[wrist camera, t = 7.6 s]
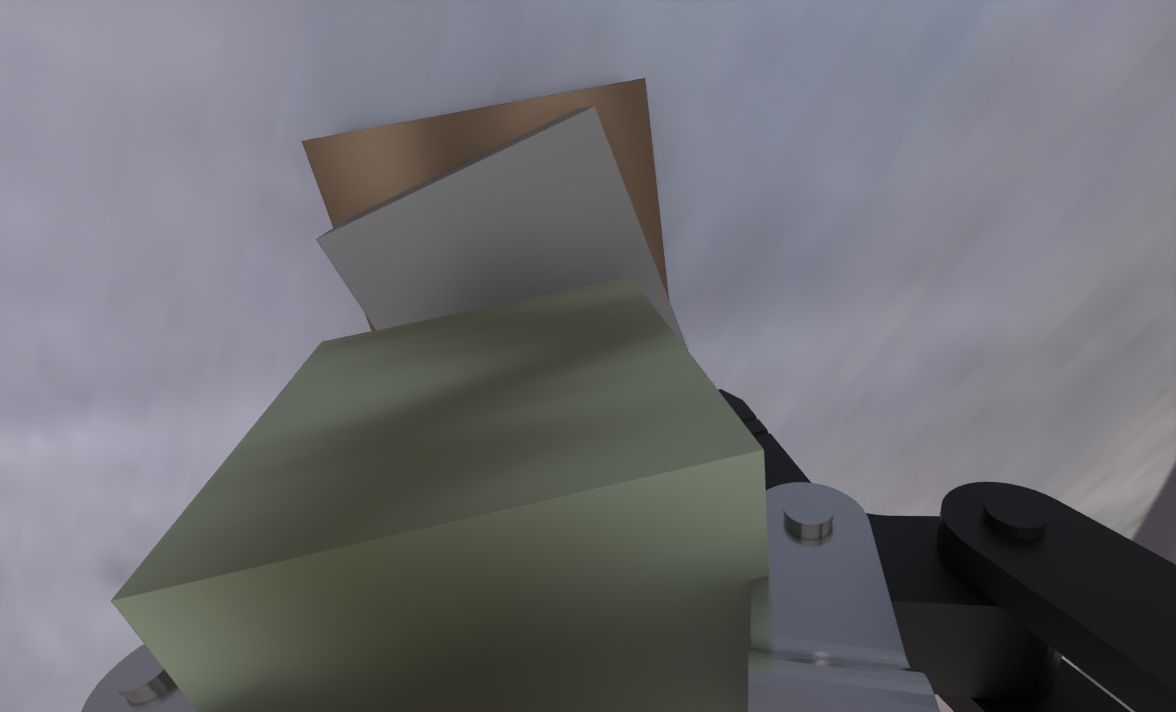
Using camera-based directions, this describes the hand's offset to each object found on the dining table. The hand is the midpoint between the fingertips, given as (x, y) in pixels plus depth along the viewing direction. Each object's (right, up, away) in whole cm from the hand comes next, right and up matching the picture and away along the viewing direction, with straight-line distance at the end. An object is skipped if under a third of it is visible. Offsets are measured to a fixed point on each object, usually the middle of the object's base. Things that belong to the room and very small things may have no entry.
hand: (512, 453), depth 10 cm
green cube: (0, 0, +1) cm, 1 cm away
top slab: (-1, +5, +11) cm, 12 cm away
